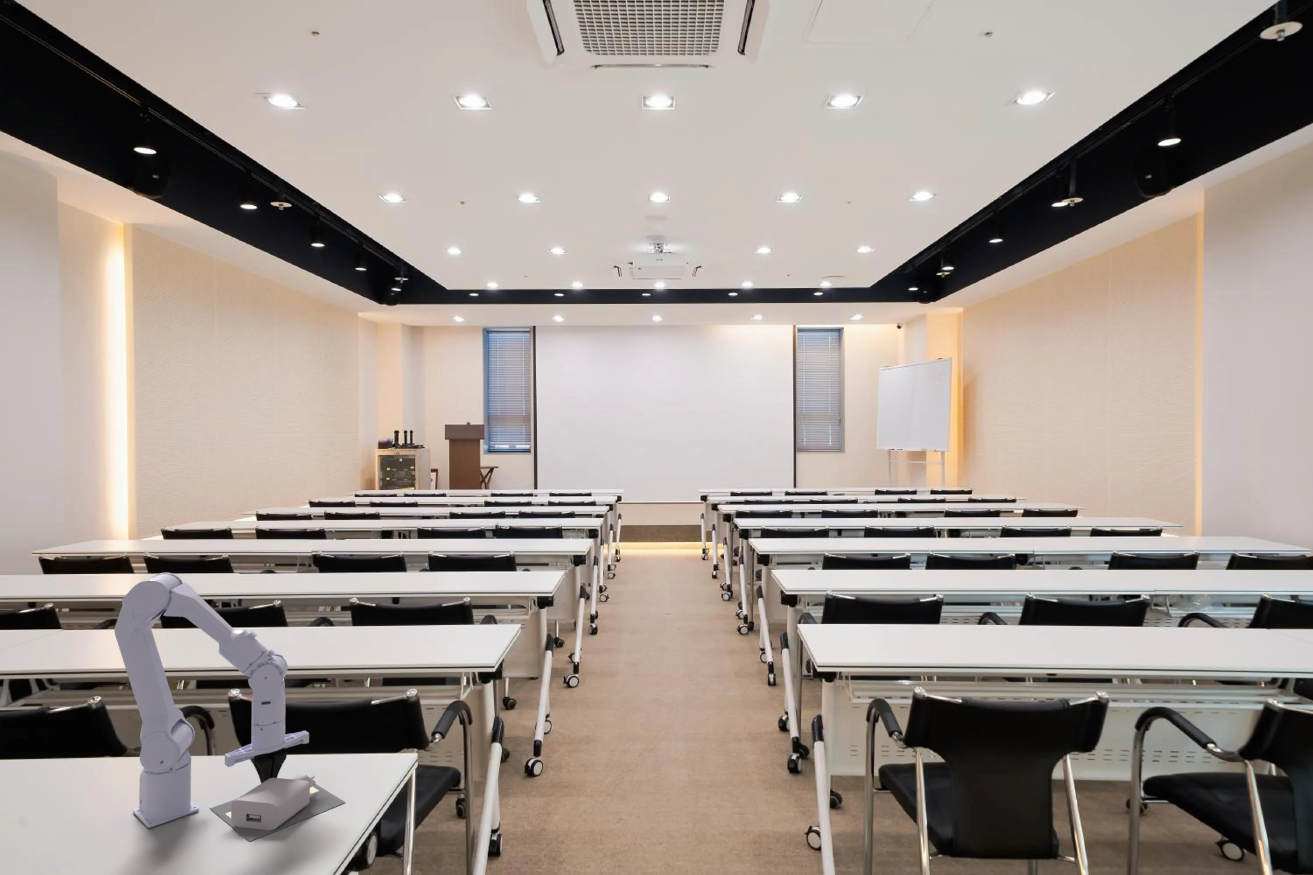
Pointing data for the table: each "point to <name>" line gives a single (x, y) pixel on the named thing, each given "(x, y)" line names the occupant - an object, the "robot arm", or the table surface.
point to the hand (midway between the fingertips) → (267, 790)
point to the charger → (271, 802)
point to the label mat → (318, 804)
